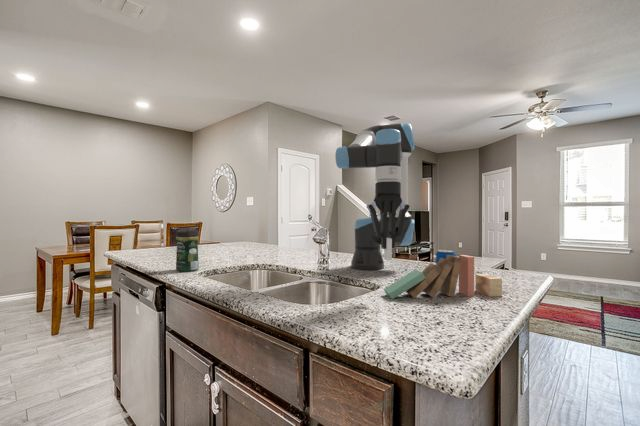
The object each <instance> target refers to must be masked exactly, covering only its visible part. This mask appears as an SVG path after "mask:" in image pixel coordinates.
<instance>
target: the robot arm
mask: <svg viewBox="0 0 640 426" xmlns="http://www.w3.org/2000/svg"><path fill="white" fill-rule="evenodd" d="M413 132H414V131H413V127H412V125H411V123H409V122H408V123H405V122H404V123H403V122H400V123H392V124H391V123H389V124H381V125H380V124H377V125H374V126H373V125H372V126H370V127H368V128H366V129H363V130H361V131H360V132H358V134H357V135H356V136H355V139H354V141H352V143H351V144H349V145H348V146H347V145H343V146H339V147H337V148H336V149H335V163H336V166H337V168H339V169H346V170H348V169H364V168H367V169H368V168H369V169H370V168H375V173H374V175H375V181H376V183H375V191H374V193H375V196H374V198H373V202H371V203H369V204H367V205H366V208H367V210H368V211H369V214H370V217H364V218H358V219H356V220H355V223H354V252H353V255H352V258H351V263H350V266H351V268H352V267H353V268H352V269H357V270H366V271H372V270H373V271H374V270H382V269H384V268H385V261H392V260H393V250H395V248H396V246H399V247H403V246H410V245H411V244H412V242H413V238H414V229H415V219H413V218H412V214H410V213H409V211H408V210H409V209H410V204H409V201H408V200H409V199H408V198H409V197H408V196H409V195H408V194H409V189H408V188H409V185H408V181H409V179H408V177H409V175H408V173H409V172H408V171H409V163H408V160H409V157H410V156H411V155H412V151H414V150H415V139H414V133H413ZM376 209H378V211H379V215H380V216H378V214H377V211H376ZM381 249H383V250H384V251H383V255H382V252H381ZM384 260H385V261H384Z"/></svg>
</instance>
